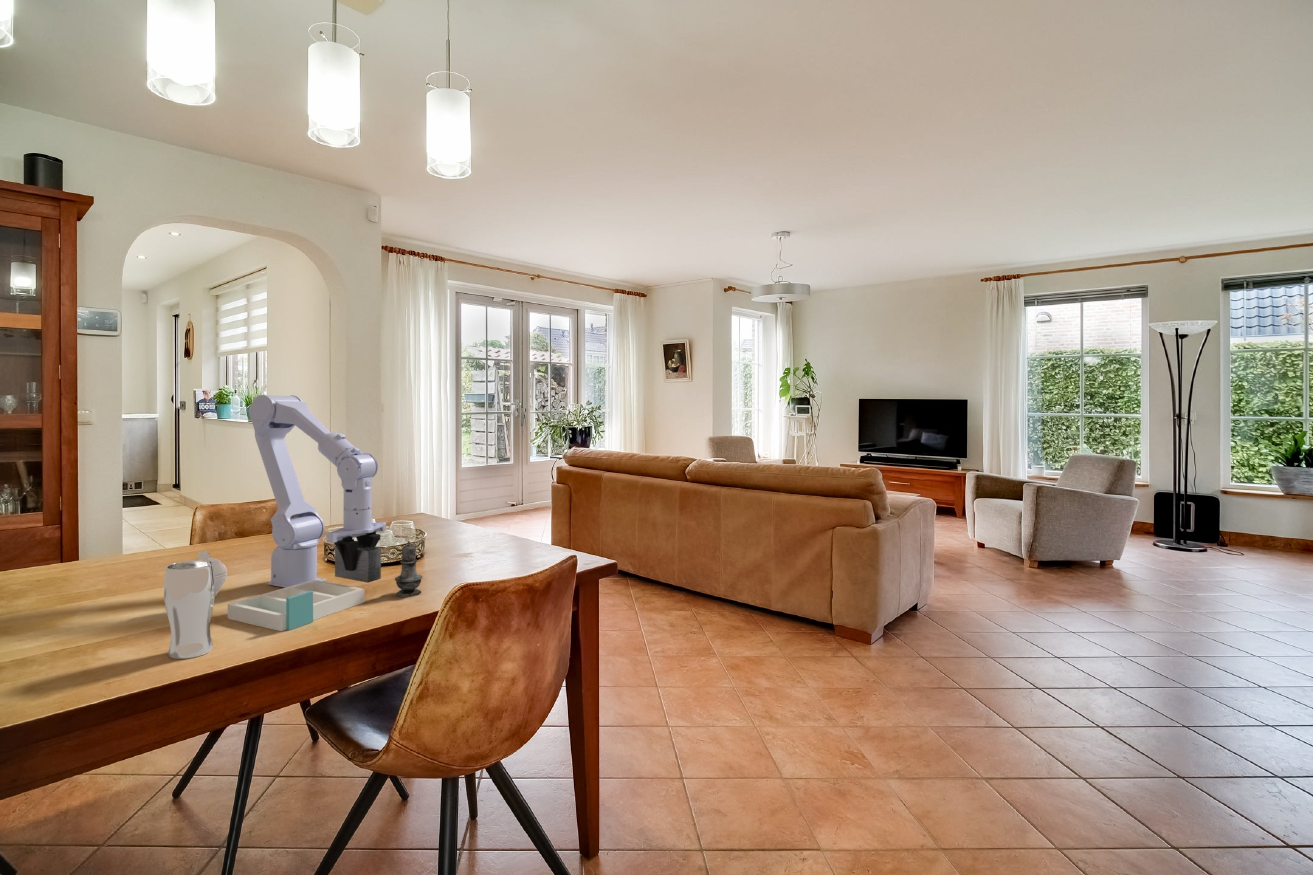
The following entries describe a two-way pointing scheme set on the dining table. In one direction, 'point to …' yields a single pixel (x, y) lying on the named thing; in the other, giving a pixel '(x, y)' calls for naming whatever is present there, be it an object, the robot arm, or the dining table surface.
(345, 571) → the dark grey block
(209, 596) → the beer glass
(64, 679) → the dining table surface
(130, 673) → the dining table surface
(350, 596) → the divided tray
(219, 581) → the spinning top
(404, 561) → the dark grey stone ornament
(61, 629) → the dining table surface
